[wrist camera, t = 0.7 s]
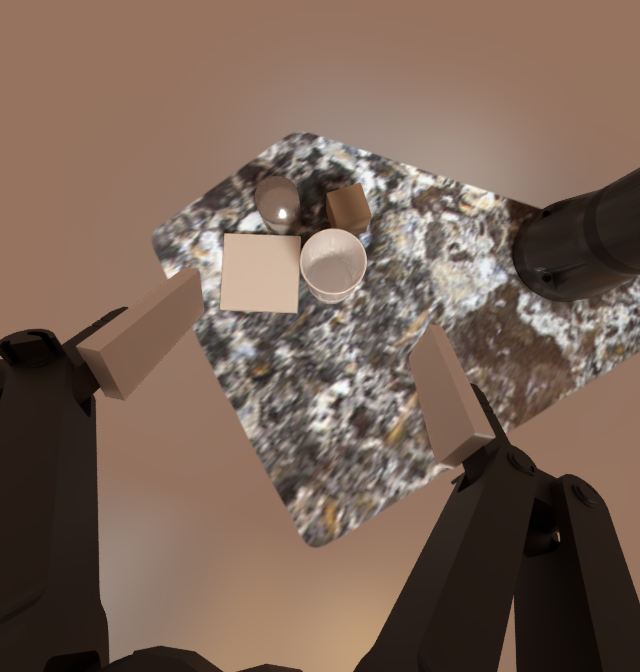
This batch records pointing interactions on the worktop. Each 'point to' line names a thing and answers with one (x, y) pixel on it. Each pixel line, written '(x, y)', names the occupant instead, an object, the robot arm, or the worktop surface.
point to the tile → (260, 273)
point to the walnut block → (348, 209)
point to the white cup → (332, 264)
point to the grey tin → (279, 205)
